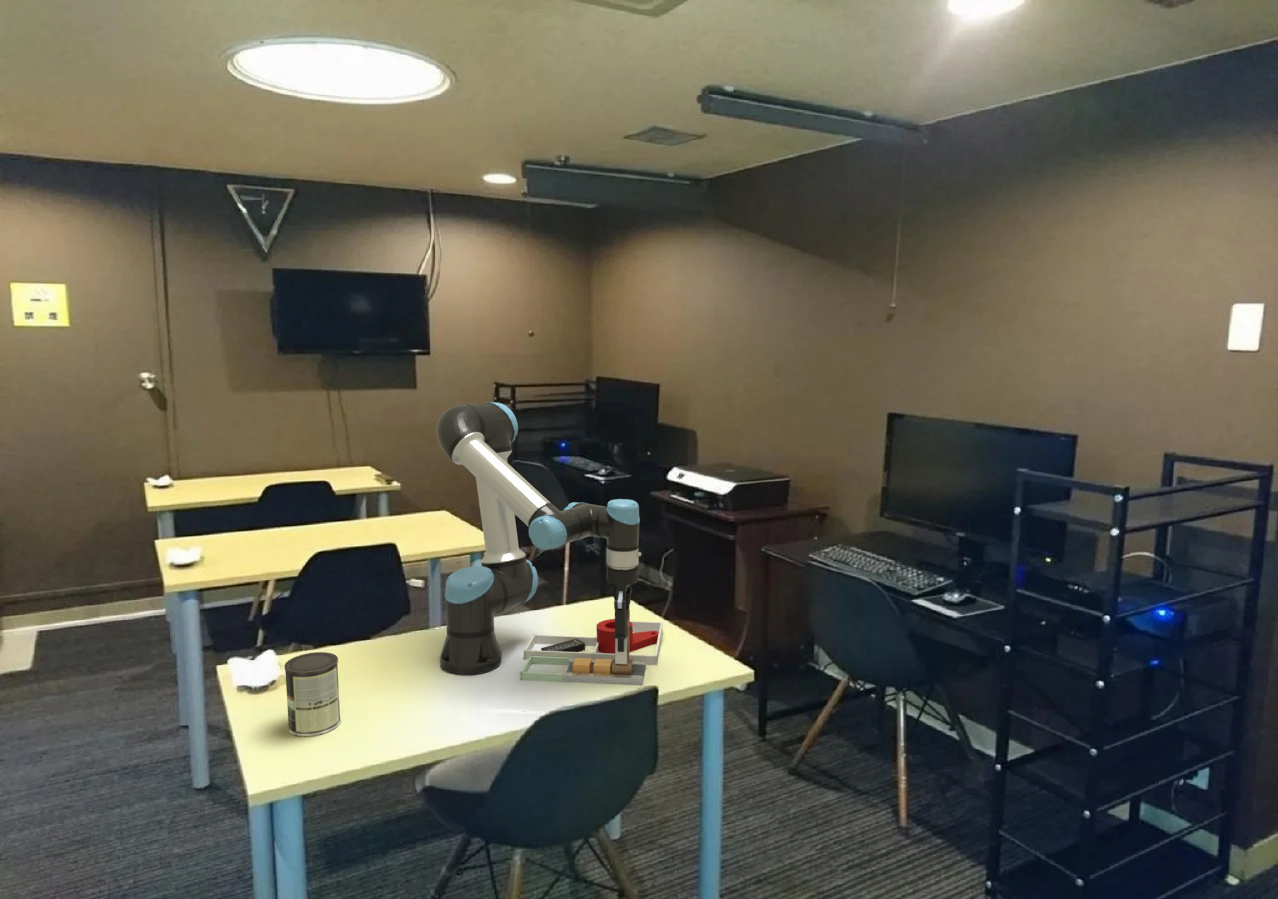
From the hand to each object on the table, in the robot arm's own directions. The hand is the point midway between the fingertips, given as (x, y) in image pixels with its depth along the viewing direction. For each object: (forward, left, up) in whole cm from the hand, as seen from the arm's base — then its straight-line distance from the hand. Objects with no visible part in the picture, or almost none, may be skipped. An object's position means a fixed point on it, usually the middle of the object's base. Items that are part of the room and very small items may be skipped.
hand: (621, 660), depth 191 cm
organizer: (-9, +19, -5) cm, 21 cm away
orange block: (-5, 0, -4) cm, 6 cm away
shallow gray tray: (-4, 0, -5) cm, 6 cm away
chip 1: (-10, 0, -4) cm, 10 cm away
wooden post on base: (0, 0, -3) cm, 3 cm away
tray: (-19, 0, -5) cm, 19 cm away
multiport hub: (-17, +12, -5) cm, 21 cm away
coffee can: (-62, -30, -5) cm, 69 cm away
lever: (0, +19, -4) cm, 19 cm away
